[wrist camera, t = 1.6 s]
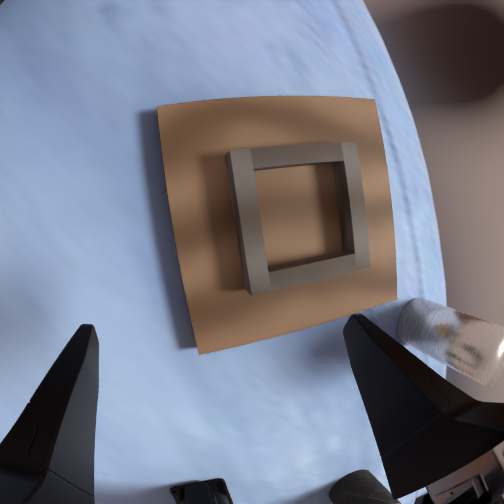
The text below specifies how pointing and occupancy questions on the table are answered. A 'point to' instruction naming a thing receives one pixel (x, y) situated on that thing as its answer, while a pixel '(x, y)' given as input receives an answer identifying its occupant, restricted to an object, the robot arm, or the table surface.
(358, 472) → the travel mug
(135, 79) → the table surface
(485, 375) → the steel cup
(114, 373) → the table surface
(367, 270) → the brown flat square board
